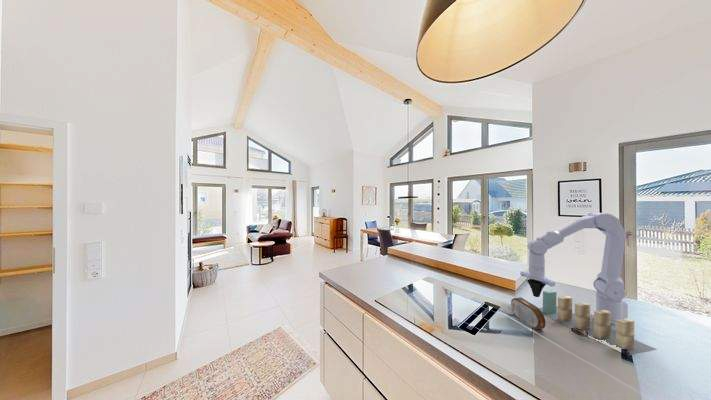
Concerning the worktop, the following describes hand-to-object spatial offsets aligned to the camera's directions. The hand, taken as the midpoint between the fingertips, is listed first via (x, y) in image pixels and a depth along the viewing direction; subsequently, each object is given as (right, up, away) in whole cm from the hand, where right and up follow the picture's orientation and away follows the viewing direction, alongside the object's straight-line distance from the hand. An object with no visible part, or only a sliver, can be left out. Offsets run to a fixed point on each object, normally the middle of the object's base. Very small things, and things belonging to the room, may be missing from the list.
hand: (536, 296), depth 105 cm
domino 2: (+3, -5, -12) cm, 13 cm away
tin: (-14, -5, -13) cm, 20 cm away
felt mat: (+6, -5, -16) cm, 18 cm away
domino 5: (+6, -5, -29) cm, 30 cm away
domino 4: (+5, -5, -23) cm, 24 cm away
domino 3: (+4, -5, -17) cm, 18 cm away
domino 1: (+1, -5, -6) cm, 7 cm away
